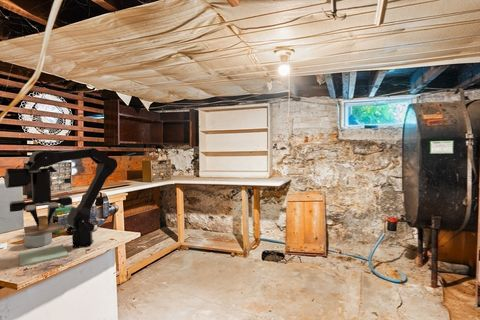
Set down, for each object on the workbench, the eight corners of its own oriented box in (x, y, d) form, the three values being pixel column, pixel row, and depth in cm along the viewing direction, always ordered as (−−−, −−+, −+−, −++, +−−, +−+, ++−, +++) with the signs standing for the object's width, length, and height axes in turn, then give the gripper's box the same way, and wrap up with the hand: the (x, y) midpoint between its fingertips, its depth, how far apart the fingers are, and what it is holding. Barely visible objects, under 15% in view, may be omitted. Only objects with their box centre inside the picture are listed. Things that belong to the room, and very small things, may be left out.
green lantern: (47, 231, 132) (46, 201, 132) (67, 226, 140) (66, 198, 139) (55, 234, 127) (55, 203, 126) (76, 229, 135) (75, 200, 134)
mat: (62, 245, 113) (62, 244, 113) (68, 256, 102) (68, 254, 102) (19, 254, 104) (19, 252, 104) (20, 266, 93) (20, 264, 93)
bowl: (50, 238, 121) (50, 228, 121) (52, 244, 114) (52, 233, 114) (24, 243, 115) (23, 233, 115) (24, 249, 108) (24, 238, 108)
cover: (58, 223, 110) (58, 212, 110) (62, 229, 102) (62, 217, 102) (24, 228, 103) (23, 216, 103) (25, 236, 95) (24, 223, 95)
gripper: (67, 180, 114) (68, 217, 115) (9, 184, 102) (10, 225, 103) (71, 183, 105) (73, 223, 106) (8, 188, 93) (10, 232, 94)
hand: (43, 225), depth 102 cm, fingers closed on cover, 3 cm apart
